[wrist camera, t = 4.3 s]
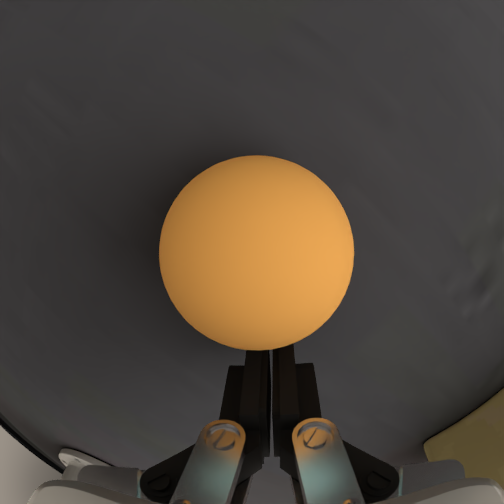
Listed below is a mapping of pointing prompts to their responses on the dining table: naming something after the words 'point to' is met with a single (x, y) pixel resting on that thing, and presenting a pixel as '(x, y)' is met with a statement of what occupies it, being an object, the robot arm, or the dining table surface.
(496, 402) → the cheese
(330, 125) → the dining table surface
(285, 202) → the ball
